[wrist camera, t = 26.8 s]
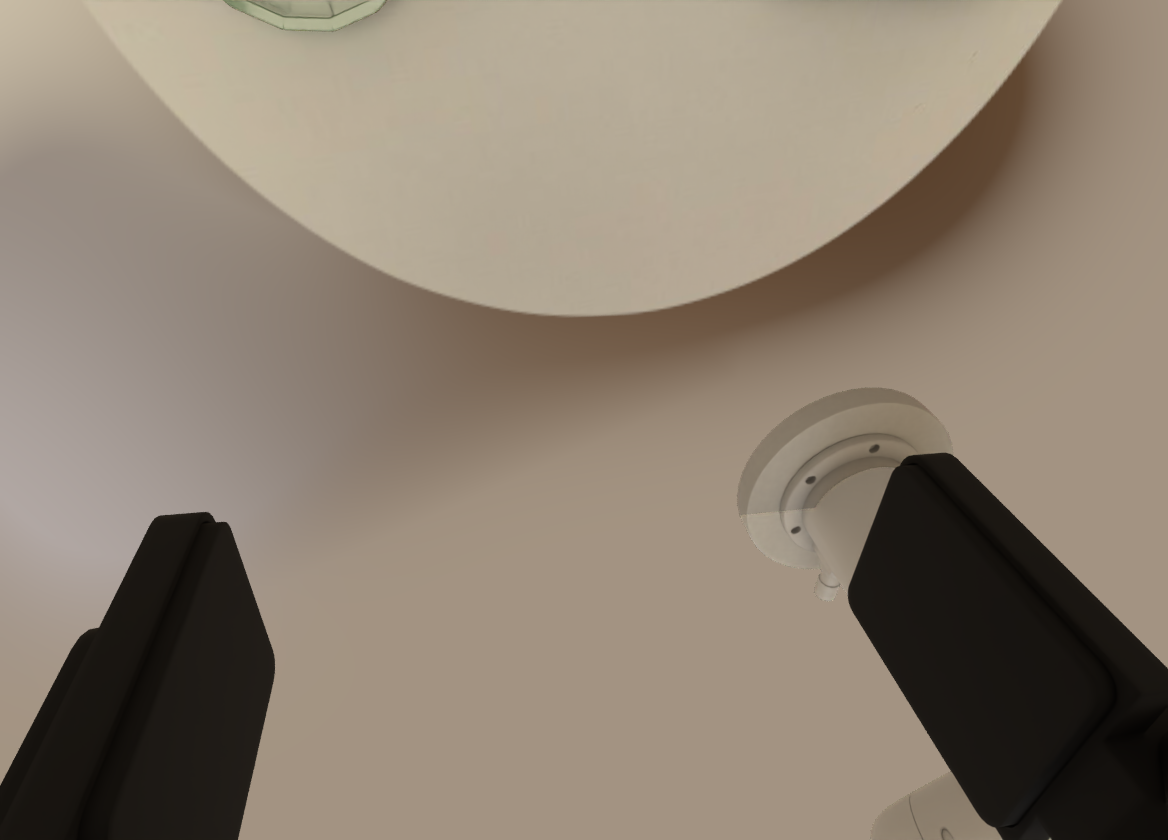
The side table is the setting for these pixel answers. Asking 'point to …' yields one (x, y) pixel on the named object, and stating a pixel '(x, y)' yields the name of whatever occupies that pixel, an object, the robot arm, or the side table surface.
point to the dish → (308, 12)
